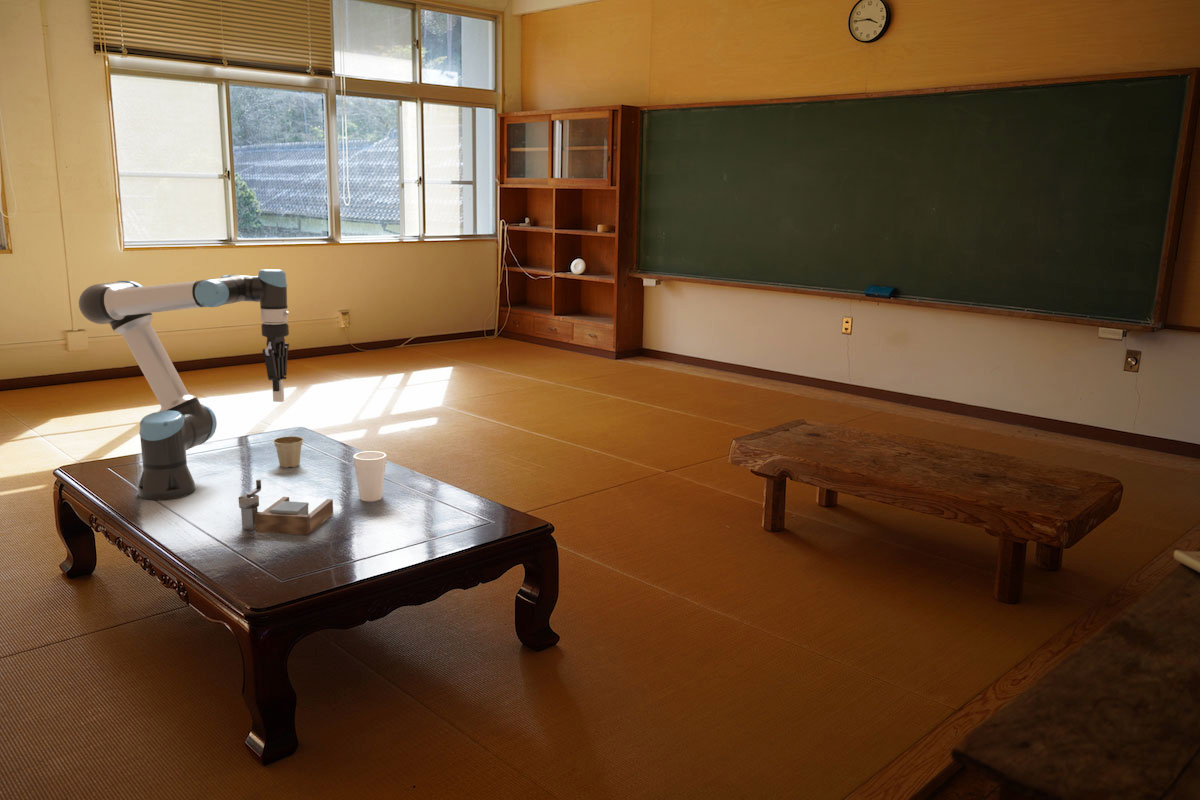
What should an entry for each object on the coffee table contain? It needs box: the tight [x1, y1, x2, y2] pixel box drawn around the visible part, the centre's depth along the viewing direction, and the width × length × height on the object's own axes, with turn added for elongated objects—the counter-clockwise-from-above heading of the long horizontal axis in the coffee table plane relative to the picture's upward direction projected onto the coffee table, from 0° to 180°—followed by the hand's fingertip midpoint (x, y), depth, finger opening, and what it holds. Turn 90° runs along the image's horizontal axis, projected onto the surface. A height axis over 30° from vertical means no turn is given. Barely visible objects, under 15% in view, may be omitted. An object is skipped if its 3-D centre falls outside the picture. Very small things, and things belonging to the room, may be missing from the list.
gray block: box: [271, 500, 310, 515], centre depth 245 cm, size 7×7×6 cm
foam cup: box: [352, 450, 387, 502], centre depth 270 cm, size 10×9×13 cm
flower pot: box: [272, 435, 304, 469], centre depth 301 cm, size 9×9×9 cm
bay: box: [254, 496, 334, 536], centre depth 249 cm, size 14×18×5 cm
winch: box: [238, 479, 262, 531], centre depth 246 cm, size 5×9×11 cm, turn 175°
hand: (278, 401), depth 275 cm, fingers closed
